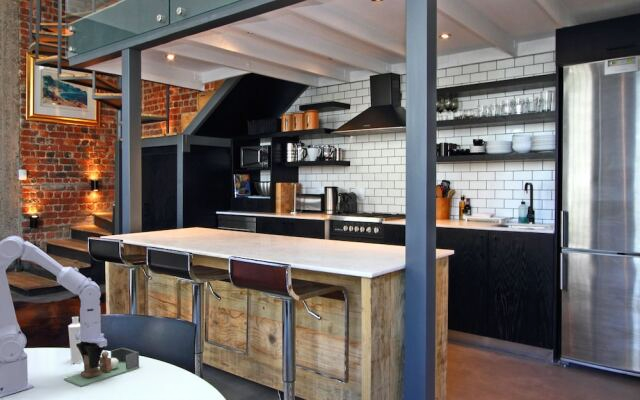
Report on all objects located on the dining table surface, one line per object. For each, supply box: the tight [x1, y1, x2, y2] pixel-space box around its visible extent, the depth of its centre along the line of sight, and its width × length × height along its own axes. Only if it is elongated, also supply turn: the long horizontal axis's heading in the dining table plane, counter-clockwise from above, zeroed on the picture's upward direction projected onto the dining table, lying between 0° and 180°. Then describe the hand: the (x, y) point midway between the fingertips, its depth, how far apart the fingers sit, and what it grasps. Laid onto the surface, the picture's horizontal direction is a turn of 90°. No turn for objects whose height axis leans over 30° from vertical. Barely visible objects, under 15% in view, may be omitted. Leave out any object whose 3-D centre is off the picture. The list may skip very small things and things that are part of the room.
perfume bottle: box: [67, 316, 83, 365], centre depth 171 cm, size 5×4×15 cm
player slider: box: [80, 350, 111, 378], centre depth 157 cm, size 8×4×6 cm, turn 144°
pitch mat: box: [63, 362, 139, 388], centre depth 159 cm, size 19×10×1 cm, turn 144°
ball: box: [110, 357, 119, 369], centre depth 162 cm, size 4×4×4 cm
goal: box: [110, 347, 140, 370], centre depth 165 cm, size 4×9×5 cm, turn 54°
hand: (91, 366), depth 156 cm, fingers closed on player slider, 3 cm apart
